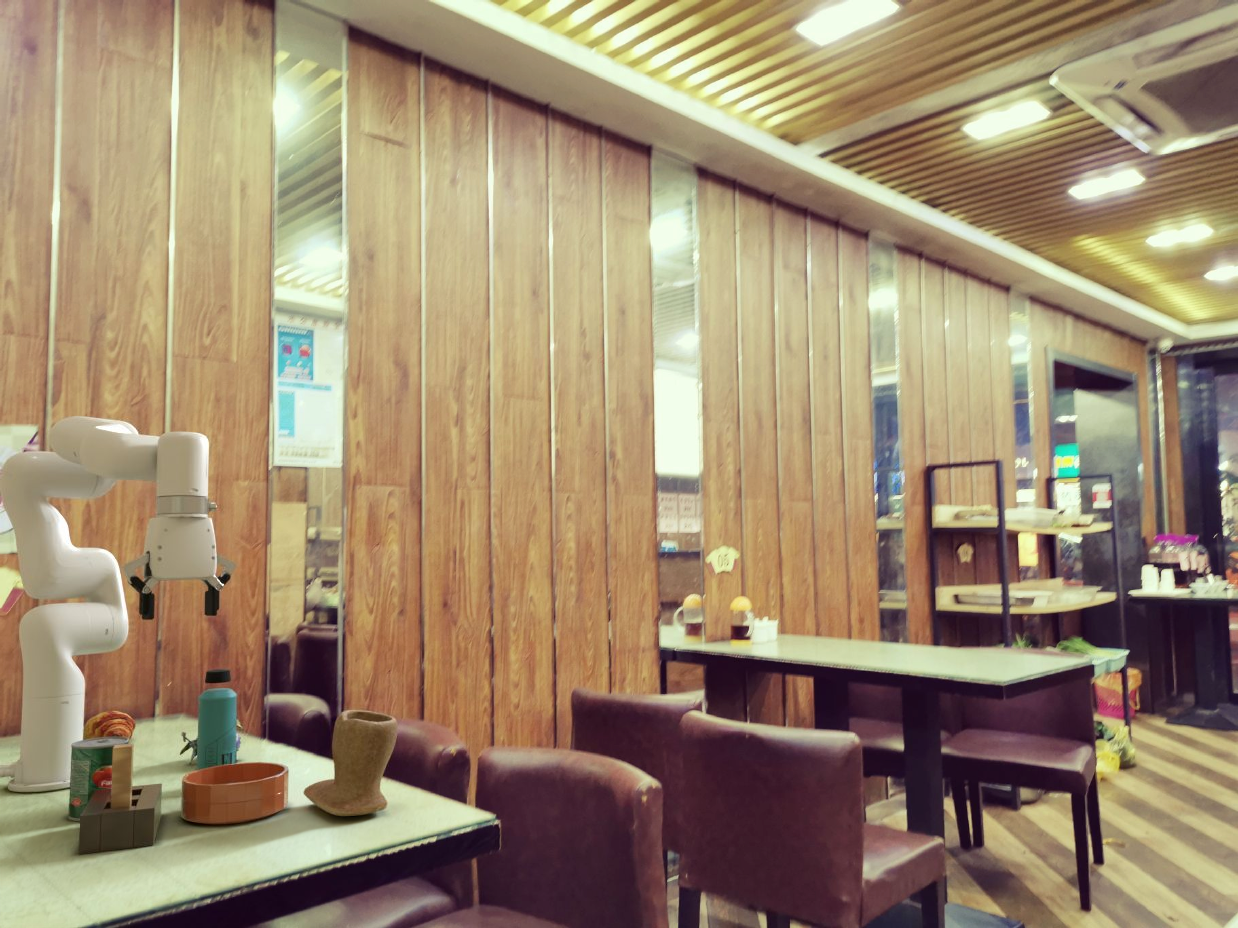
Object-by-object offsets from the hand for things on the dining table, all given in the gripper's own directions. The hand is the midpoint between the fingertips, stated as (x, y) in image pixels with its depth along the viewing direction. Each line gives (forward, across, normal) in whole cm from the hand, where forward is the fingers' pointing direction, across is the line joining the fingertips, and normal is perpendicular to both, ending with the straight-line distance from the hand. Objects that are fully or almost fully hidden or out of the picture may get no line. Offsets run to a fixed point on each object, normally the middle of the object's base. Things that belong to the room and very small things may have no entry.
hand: (180, 617), depth 146 cm
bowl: (+30, -6, +6) cm, 32 cm away
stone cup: (+31, -19, +19) cm, 41 cm away
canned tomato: (+30, +8, -10) cm, 33 cm away
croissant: (+29, -14, -72) cm, 79 cm away
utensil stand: (+30, +9, +5) cm, 32 cm away
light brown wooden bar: (+30, +11, +8) cm, 33 cm away
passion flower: (+30, -19, -33) cm, 48 cm away
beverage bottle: (+30, -11, -12) cm, 34 cm away
